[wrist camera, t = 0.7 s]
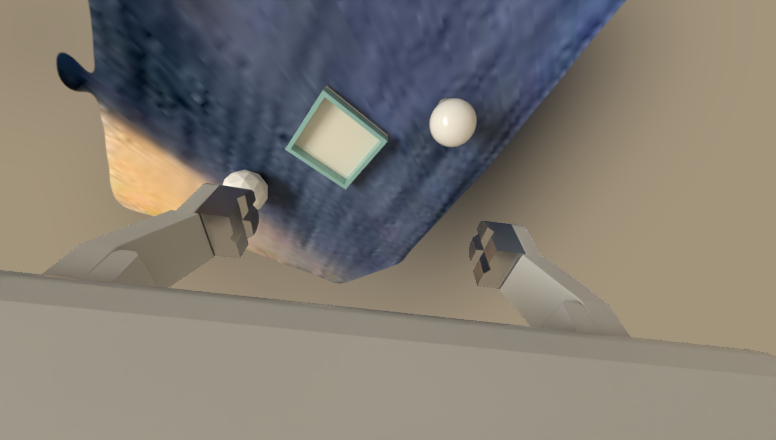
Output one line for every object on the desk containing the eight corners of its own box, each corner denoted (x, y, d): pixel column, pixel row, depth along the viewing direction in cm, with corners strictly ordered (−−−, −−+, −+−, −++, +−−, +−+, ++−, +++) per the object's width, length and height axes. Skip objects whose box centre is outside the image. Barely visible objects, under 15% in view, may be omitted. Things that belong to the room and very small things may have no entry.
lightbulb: (453, 129, 48) (465, 160, 39) (419, 116, 46) (423, 145, 38) (473, 92, 44) (491, 117, 35) (436, 76, 42) (445, 99, 34)
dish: (326, 85, 44) (322, 90, 42) (388, 135, 48) (387, 141, 46) (289, 142, 50) (285, 149, 48) (347, 181, 55) (345, 189, 53)
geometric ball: (252, 178, 58) (215, 198, 54) (250, 154, 52) (207, 174, 47) (277, 204, 58) (241, 226, 53) (278, 183, 51) (237, 207, 47)
